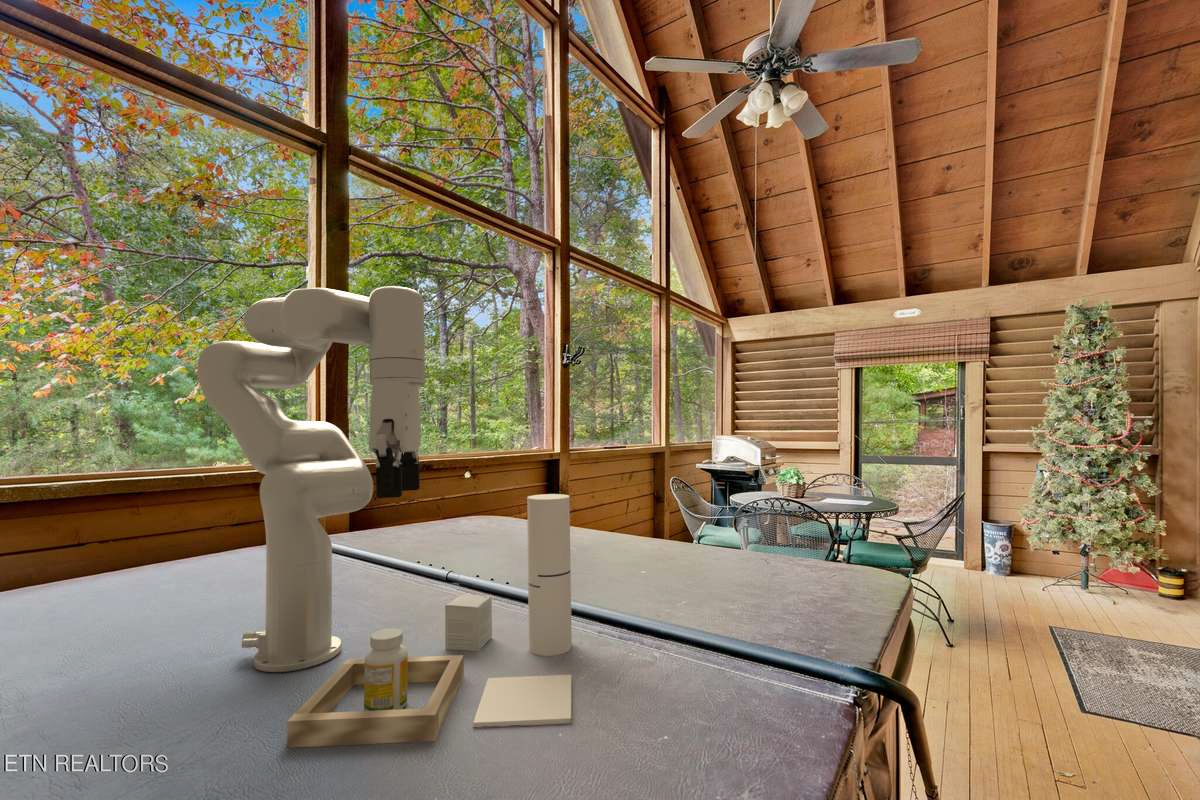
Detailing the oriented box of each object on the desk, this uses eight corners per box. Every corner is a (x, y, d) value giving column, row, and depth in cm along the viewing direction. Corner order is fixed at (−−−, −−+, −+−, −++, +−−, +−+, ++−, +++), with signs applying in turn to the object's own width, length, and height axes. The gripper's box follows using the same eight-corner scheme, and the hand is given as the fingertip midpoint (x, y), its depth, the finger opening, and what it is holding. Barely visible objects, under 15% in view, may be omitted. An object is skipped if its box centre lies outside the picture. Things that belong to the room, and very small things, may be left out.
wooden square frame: (287, 747, 63) (287, 721, 64) (347, 680, 80) (347, 659, 81) (435, 740, 64) (435, 714, 65) (463, 675, 81) (463, 655, 81)
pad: (473, 727, 67) (473, 722, 67) (488, 682, 79) (488, 678, 79) (571, 723, 68) (570, 718, 68) (571, 678, 80) (571, 674, 80)
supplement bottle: (376, 722, 69) (377, 644, 69) (356, 709, 72) (356, 635, 73) (415, 705, 73) (415, 632, 73) (394, 693, 76) (394, 623, 77)
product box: (460, 635, 97) (460, 593, 98) (493, 637, 96) (492, 595, 96) (444, 649, 91) (444, 604, 92) (478, 652, 90) (478, 606, 90)
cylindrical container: (565, 657, 87) (563, 499, 88) (522, 654, 89) (521, 499, 90) (576, 640, 94) (574, 494, 96) (536, 637, 96) (535, 493, 97)
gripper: (388, 381, 87) (390, 489, 86) (348, 367, 70) (350, 502, 69) (436, 379, 88) (438, 486, 87) (409, 366, 71) (411, 499, 70)
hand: (399, 493), depth 78 cm, fingers open, 9 cm apart
